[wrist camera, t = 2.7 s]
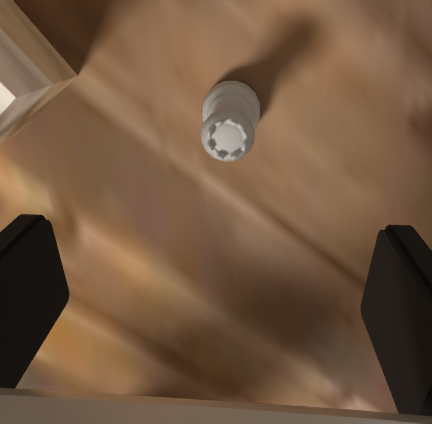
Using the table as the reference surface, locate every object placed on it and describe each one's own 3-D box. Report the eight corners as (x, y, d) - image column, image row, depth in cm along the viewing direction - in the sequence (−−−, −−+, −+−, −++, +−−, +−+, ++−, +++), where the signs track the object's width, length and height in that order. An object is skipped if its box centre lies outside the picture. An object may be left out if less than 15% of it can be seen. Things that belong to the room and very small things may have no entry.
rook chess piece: (239, 147, 30) (237, 189, 23) (192, 118, 29) (175, 151, 22) (272, 100, 28) (281, 129, 21) (222, 67, 27) (214, 85, 20)
